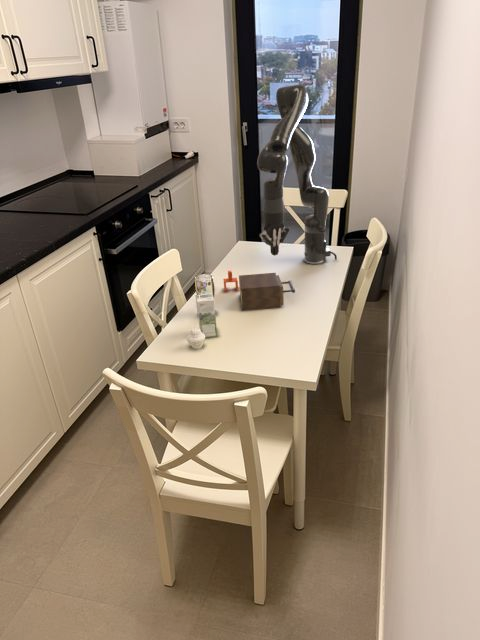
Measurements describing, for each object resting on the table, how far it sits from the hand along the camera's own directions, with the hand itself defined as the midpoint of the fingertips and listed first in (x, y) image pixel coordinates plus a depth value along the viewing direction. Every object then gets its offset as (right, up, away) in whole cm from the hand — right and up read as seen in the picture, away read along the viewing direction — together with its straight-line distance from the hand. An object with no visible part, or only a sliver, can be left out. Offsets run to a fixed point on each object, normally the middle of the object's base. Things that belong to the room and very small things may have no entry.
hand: (274, 254), depth 191 cm
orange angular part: (-18, -12, +15) cm, 26 cm away
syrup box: (-24, -31, -16) cm, 42 cm away
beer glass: (-25, -23, -3) cm, 35 cm away
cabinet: (-6, -18, +4) cm, 19 cm away
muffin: (-27, -36, -23) cm, 50 cm away
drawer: (-2, -17, +4) cm, 17 cm away
